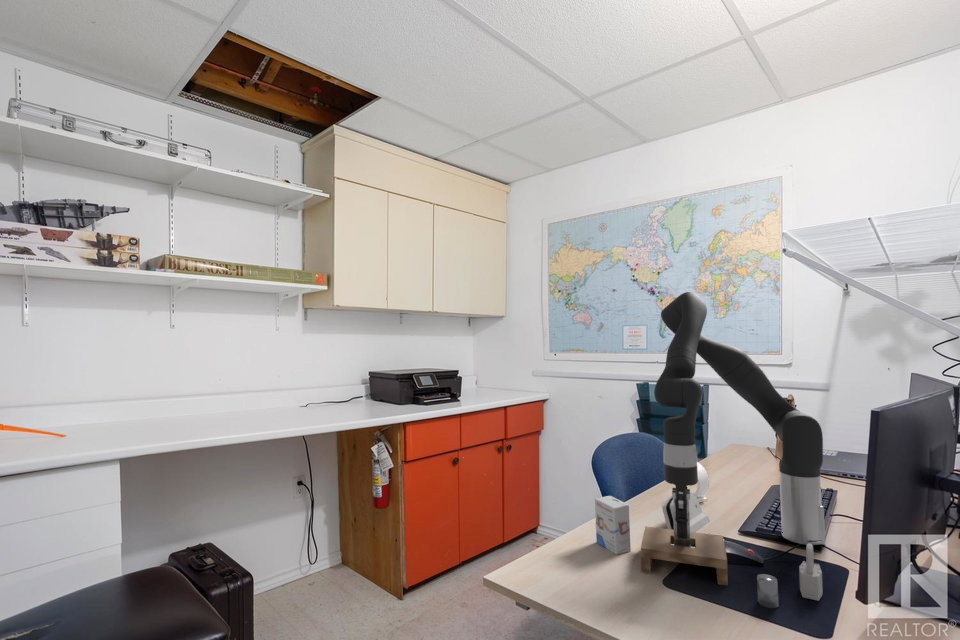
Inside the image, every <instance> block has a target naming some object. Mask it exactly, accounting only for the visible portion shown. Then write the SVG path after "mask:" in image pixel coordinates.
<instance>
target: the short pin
mask: <svg viewBox="0 0 960 640" xmlns="http://www.w3.org/2000/svg"><path fill="white" fill-rule="evenodd" d="M756 581H757V582H756V583H757V584H756V585H757V602H758V604H759V605H760V606H763V607H765V608H769V609H777V608H779V586H778V578H777V577H776V576H773V575H771V574H765V573H761V574H757V575H756Z"/></svg>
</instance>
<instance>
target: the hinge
mask: <svg viewBox="0 0 960 640" xmlns="http://www.w3.org/2000/svg"><path fill="white" fill-rule="evenodd" d="M673 506H674V504H673V498H672V495H670V496H669V497H668V498H666V500H665V501H664V503H663V505H662V507H661V508H662V509H661V510H662V513H663V516H664V520H665V524H666V527H667V528H666V529H671V530H674V520H673ZM689 513H690V532H696V533H697V531H698V530H700V529H701V528H703V527H705V526H706V525H707V524H708V523H709V522H710V521H711V520H710V517H709V515H708V514H707V513H705V512H704V511H703V509H702V506H701V505H700V503H699V502H698V500H697V497H696V495H695V493H694V492H690V500H689Z"/></svg>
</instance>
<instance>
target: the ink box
mask: <svg viewBox="0 0 960 640" xmlns="http://www.w3.org/2000/svg"><path fill="white" fill-rule="evenodd" d="M594 505H595V506H594V507H595V508H594V511H595V514H594V515H595V532H596V533H595V535H596V536H595V537H596V538H595V539H596V540H595V541H596V544H598V545H600V546H602V547H604V548H605V549H607V550H608V551H610V552H612V553H614V554H615V555H620V554H624V553H628V552H631V550H632V548H631V530H630V529H631V528H630V527H631V526H630V505H629V504H628V503H626V502H625V501H622V500H620V499H618V498H616V497H614V496H613V495H607V496H606V495H605V496H602V497H601V496H600V497H597V498H595V499H594Z"/></svg>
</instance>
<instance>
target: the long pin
mask: <svg viewBox="0 0 960 640" xmlns="http://www.w3.org/2000/svg"><path fill="white" fill-rule="evenodd" d="M678 517H685V515H680V514H678ZM675 518H676V512H675V511H674V506H673V520H674V544H673V545H676V546H683V547H691V545H690V513H689V512H688V513H687V519H688V522H687V539H680V538H678V537H677V522H676V520H675ZM691 548H692V547H691Z"/></svg>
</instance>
